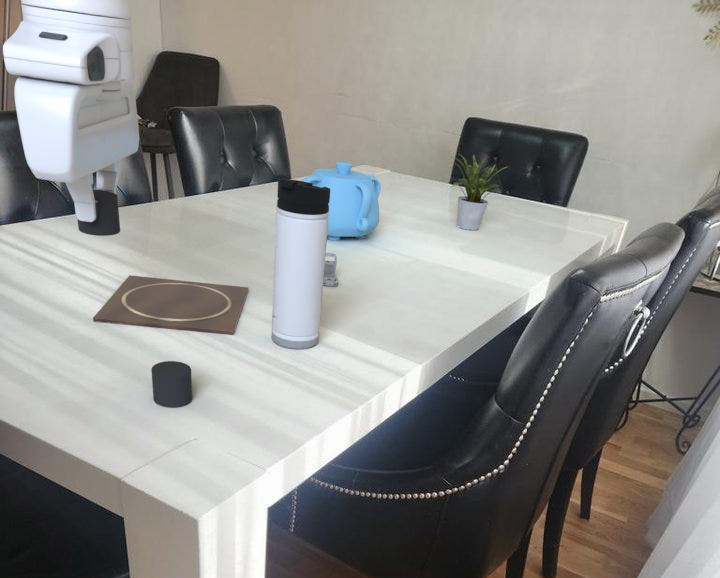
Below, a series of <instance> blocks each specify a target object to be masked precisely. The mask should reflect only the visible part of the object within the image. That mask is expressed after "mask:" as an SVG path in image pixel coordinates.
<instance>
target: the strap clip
mask: <svg viewBox="0 0 720 578" xmlns="http://www.w3.org/2000/svg"><path fill="white" fill-rule="evenodd" d="M325 257H330V258H331V257H332V258H334V260H325V267H324V279H323V286H327V287H330V286H331V287H338V283H339V279H338V277H337V276H336V270H337V264H338V257H337V254H335V253H333V252H326V255H325Z"/></svg>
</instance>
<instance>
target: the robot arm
mask: <svg viewBox="0 0 720 578" xmlns="http://www.w3.org/2000/svg"><path fill="white" fill-rule="evenodd" d="M20 6H21V13H22V21H20V22H19V24H18V27H17V29H16V30H15V31H14V32H13V33H12V35H11V36H10V37H9V38H7V39H6V40H5V42H3V45H2V55H3V61H4V66H5V69H6V72H7V73H8V74H10V75H13V76H17V78H16V80H15V83H14V91H13V93H14V103H15V104H14V105H15V110H16V111H15V112H16V116H17V122H18V128H19V133H20V138H21V143H22V148H23V153H24V157H25V160H26V163H27V166H28V167H29V169H30V171H31V173H32V174H33V176H34V177H35V178H36V179H37V180H45V181H49V182H50V181H51V182H56V183H57V182H58V183H65V185H66V188H67V190H68V192H69V194H70V196H71V199H72V201H73V205H74V211H75V212H74V213H75V218H76V219H77V221H78V220H80V221H86V222H93V221H94V220H96V219H97V218H98V217H99V205H98V200H95V198H94V194H93V190H102V191H108V192H112V193H115V194H116V195H117V189H118V181H119V176H120V161H121V160H123V159H125V158H128V157H130V156H131V155H134V154H136V153H137V152H138V151H139V147H140V127H139V119H138V109H137V100H136V92H135V88H134V83H133V81H134V80H135V63H134V47H133V34H132V33H133V32H132V17H131V11H130V7H129V4H128V0H20ZM94 173H96V181H95V182H96V188H95V189H93V185H94Z"/></svg>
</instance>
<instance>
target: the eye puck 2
mask: <svg viewBox="0 0 720 578" xmlns="http://www.w3.org/2000/svg"><path fill="white" fill-rule="evenodd" d="M150 372H151V382H152V383H151V384H152V397H153V401H154V403H155V404H156V405H158V406H161V407H164V408H181V407H185V406H187V405H189V404H190V403H191V402H192V400H193V385H192V384H193V382H192V381H193V379H192V367H191V366H190V365H189V364H187V363H184V362H182V361H177V360H176V361H175V360H166V361H162V362H161V361H160V362H158V363H155V364H154V365H152V367H151V370H150Z"/></svg>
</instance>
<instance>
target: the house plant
mask: <svg viewBox="0 0 720 578" xmlns="http://www.w3.org/2000/svg"><path fill="white" fill-rule="evenodd" d="M456 154H457V155H459V156H460V157H462V159H463V161H464V163H463V162H462V161H461V160H460V159H459V158H457V157H453V156H451V159H455V160H457V161H458V162H459V163H460V165H461V166H462V168H463V169H464V172H465V174H466V177H467V178H466V177H465V174H464V172H463V170H462V168H461V166H460V165H459V164H457V163H455V162H450V163H451V164H455V165H456V166H457V167H458V168H459V170H460V172H461V174H462V176H463V178H458V179H457V180H458V181H456V182H454V183H453V184H452V185H451V187H455V186H458V187H459V188H460V189H461V191H462V193H463V195H461V196H458V197H457V214H456V215H457V216H456V218H457V219H456V227H457V226H459V227H461V228H464V229H463V230H465V229H471V230H470V231H478V230H479V229H480V226H481V223H482V221H483V218H484V215H485V212H486V210H487V208H488V205H489V201H488V200H487V199H485V198H486V197H487V196H488V195H489V194H492V193H493V192H497V191H498V192H501V190H500V189H494V190H491V191H489V192H487V191H488V190H490V189H492V188H495V187H500V185H499V184H488V185H487V183H489V182H490V180H491V179H492V178H493V177H494V176H496V175H497V174H498V173H500V171H502V170H504V169H506V168H510V167H511V166H505V167H503V168H501V169H499V170H498V171H496V172H495V173H494V174H493V175H492V176H491V177H490V178H488V177H489V176H490V175H491V174H492V172H493V171H494V169H495V167H496V165H497V163H495V164H494V165H493V166H492V167H489V168H487V169H485V171H483V172H482V174H481V176H480V173H481V168H482V166H483V163H484V162H485V160H486V159H487V155H485V157H484V158H483V159H482V160H481V162H480V163H479V164H478V163H477V159H476V156H475V154H472V165H471V164H469V163H468V160H467V159H466V157H465V156H463V155H462V154H460V153H456ZM450 179H452V180H454V181H455V179H454V178H452V177H450ZM487 179H488V180H487ZM459 181H460V182H459ZM461 185H463V186H464V187H465V188H464V189H465V191H466V194H465V192H464V190H463V188H462V186H461ZM486 192H487V194H485V193H486ZM484 194H485V195H484ZM483 195H484V196H483ZM482 196H483V198H482ZM459 227H458V228H459ZM461 228H460V229H461ZM477 229H478V230H477Z"/></svg>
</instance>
